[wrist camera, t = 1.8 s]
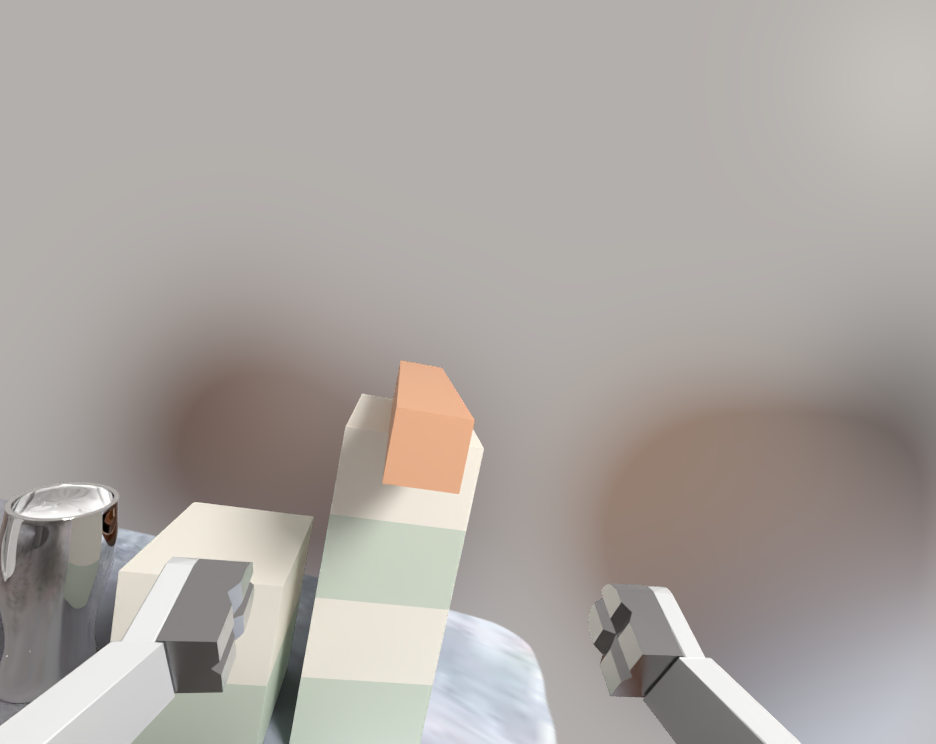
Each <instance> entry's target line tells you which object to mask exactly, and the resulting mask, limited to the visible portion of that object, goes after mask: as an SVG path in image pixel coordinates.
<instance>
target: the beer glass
mask: <svg viewBox="0 0 936 744" xmlns="http://www.w3.org/2000/svg"><path fill="white" fill-rule="evenodd" d="M118 499H119V494H118V492H117V491H116V490H115V489H113V488H111V487H109V486H106V485H102V484H96V483H84V482H74V483H73V482H72V483H59V484H52V485H46V486H41V487H37V488H34V489H30V490H28V491H24V492H22V493H20V494H17V495H16V496H14V497H12V498H11V499H10V500H8V501H7V503H6V504H5V507H4V509H5V511H4V516H3V521H2V525H1V530H0V613H1V618H2V622H3V628H4V635H5V645H4V651H3V655H2V659H1V662H0V699H1V700H3V701H6V702H10V703H29V702H32V701H34V700H35V699H36V698H38V697H39V696H40V695H42V694H43V693H44V692H46V691H47V690H48V689H49V688H51V687H52V686H53V685H55V684H56V683H57V682H59V681H60V680H61V679H63V678H64V677H65V676H67V675H68V674H69V673H70V672H72V671H73V670H74V669H76V668H77V667H78V666H80V665H81V664H82V663H84V662H85V661H86V660H88V659H89V658H90V657H91V656H93V655H94V654H95V653H97V648H96V642H95V635H94V624H95V618H96V614H97V610H98V607H99V604H100V601H101V598H102V595H103V593H104V590H105V587H106V584H107V581H108V578H109V575H110V572H111V568H112V565H113V561H114V557H115V551H116V545H117V535H118Z"/></svg>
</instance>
